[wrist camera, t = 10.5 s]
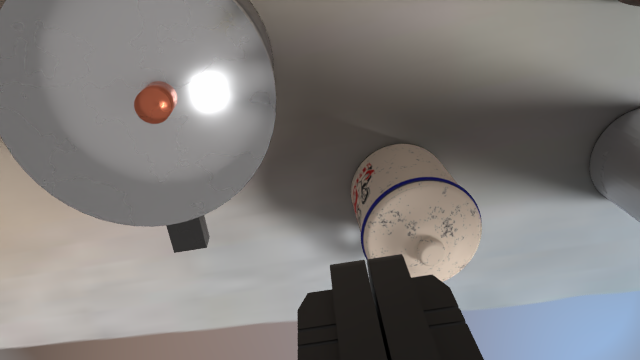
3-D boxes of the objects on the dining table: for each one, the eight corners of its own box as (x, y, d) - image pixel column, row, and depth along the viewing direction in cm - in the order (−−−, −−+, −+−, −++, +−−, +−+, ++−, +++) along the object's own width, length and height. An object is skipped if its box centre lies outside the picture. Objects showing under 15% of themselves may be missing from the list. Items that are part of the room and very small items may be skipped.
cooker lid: (248, -73, 29) (245, -77, 26) (295, 197, 35) (296, 219, 32) (-53, -28, 28) (-91, -27, 25) (50, 235, 35) (30, 260, 32)
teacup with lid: (343, 146, 45) (362, 205, 34) (447, 133, 45) (499, 187, 34) (354, 265, 49) (374, 349, 39) (448, 252, 50) (495, 333, 39)
